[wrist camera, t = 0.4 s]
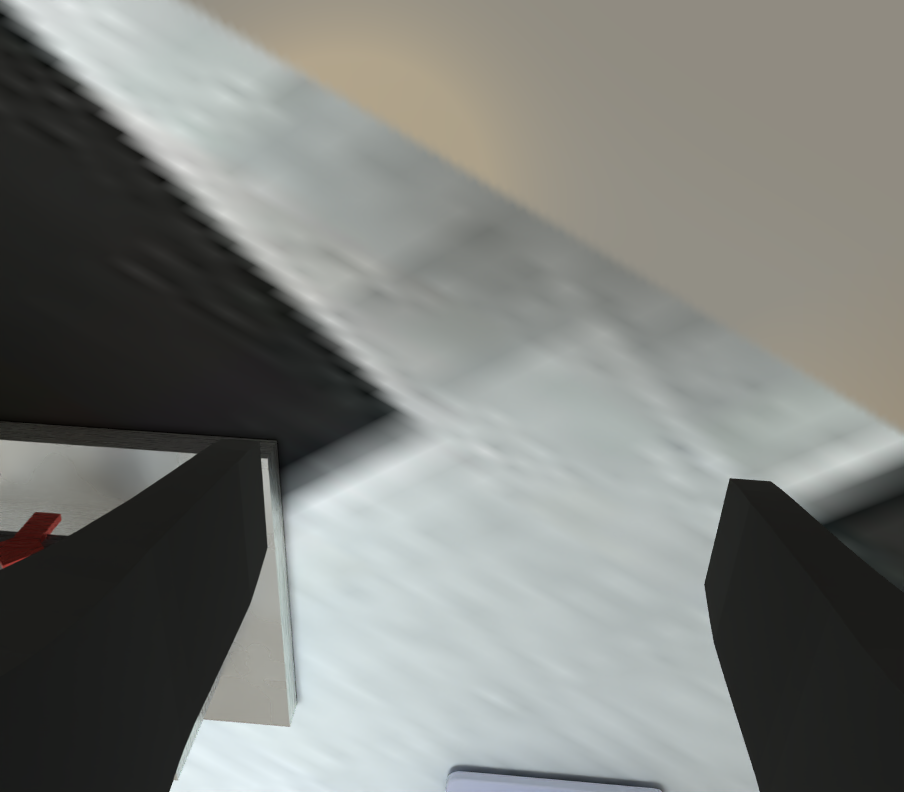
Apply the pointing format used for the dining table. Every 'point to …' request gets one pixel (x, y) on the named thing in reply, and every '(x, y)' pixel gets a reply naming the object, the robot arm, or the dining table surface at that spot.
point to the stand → (116, 481)
